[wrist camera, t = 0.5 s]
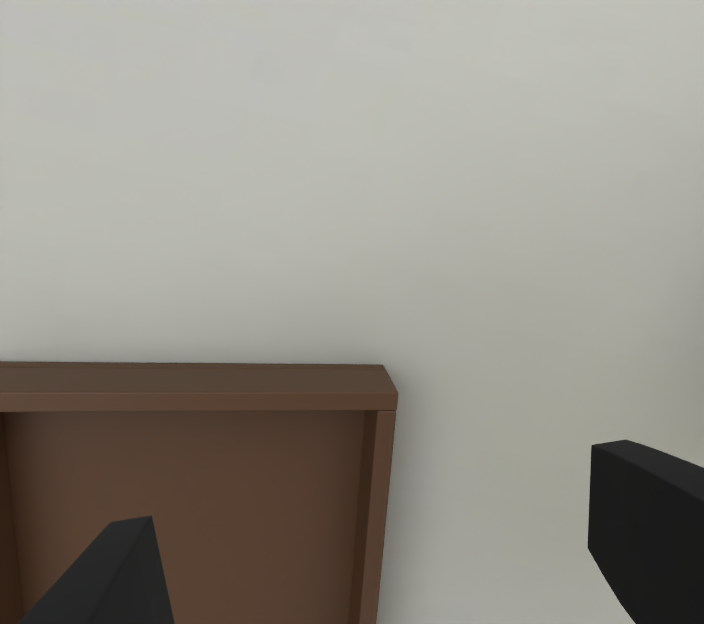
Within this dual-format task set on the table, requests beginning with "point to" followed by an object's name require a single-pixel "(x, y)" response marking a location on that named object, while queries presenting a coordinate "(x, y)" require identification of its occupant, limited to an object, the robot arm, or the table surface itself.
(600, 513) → the robot arm
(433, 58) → the table surface
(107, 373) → the tray
